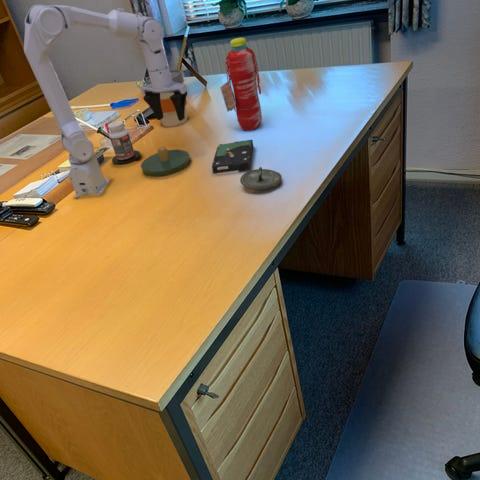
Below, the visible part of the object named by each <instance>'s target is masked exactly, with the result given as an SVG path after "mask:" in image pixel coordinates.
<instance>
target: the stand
mask: <svg viewBox="0 0 480 480" xmlns="http://www.w3.org/2000/svg"><path fill="white" fill-rule="evenodd" d="M134 153H135V154H134V156H133V157H131V158H129V159H125V160H119V159H117V157H116V155H114V156H113V157H112V158H111V162H112V164H113V165H115V166H126V165H129V164H132V163H135V162H139V161H140V160H142V153H141V151H139V150H135V149H134Z"/></svg>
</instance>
